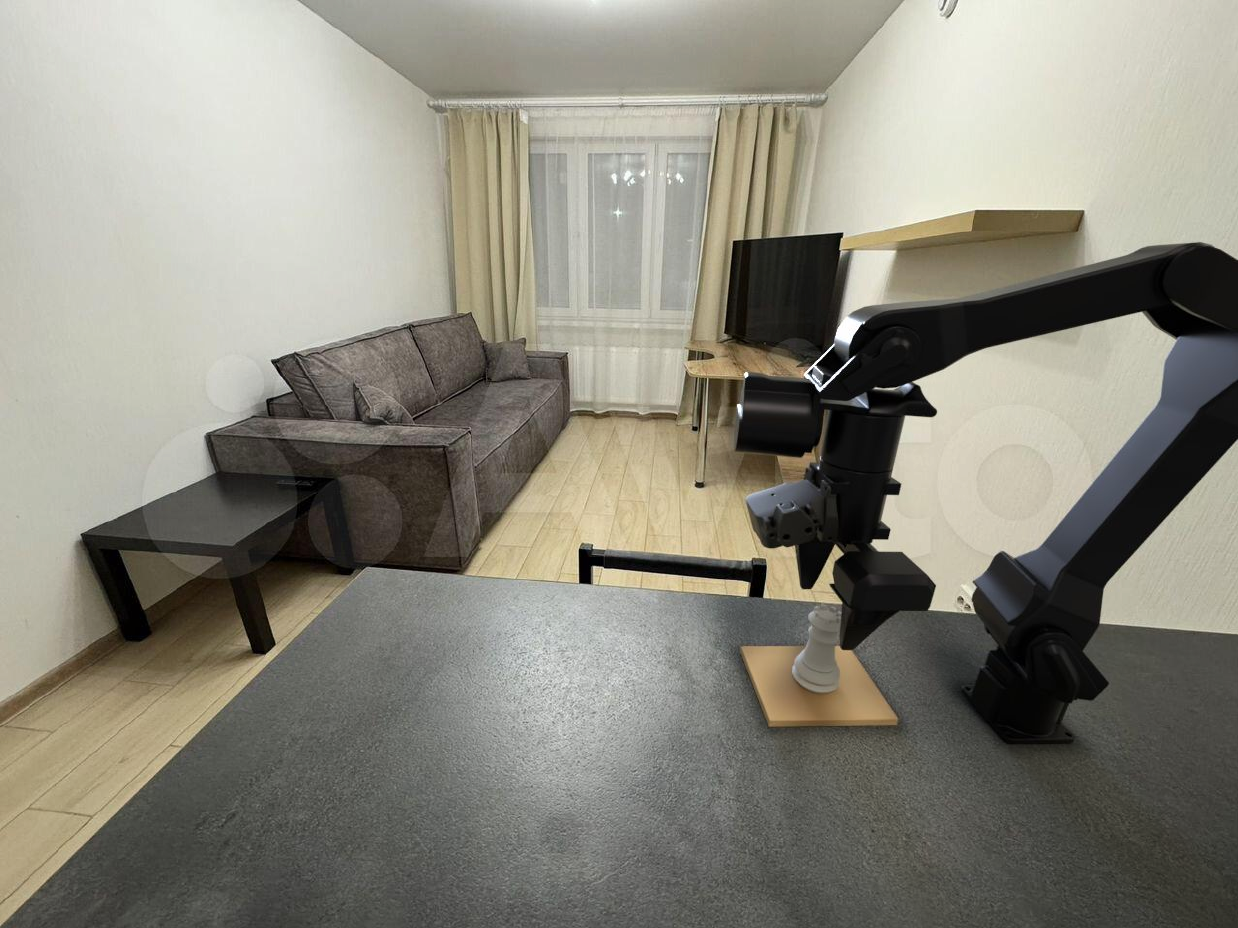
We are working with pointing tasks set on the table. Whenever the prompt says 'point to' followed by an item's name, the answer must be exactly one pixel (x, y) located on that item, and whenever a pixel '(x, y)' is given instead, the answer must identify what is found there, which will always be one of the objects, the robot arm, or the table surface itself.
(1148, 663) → the table surface
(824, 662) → the white chess queen
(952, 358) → the robot arm
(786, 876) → the table surface
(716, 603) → the table surface
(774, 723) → the coaster board
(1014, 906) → the table surface
